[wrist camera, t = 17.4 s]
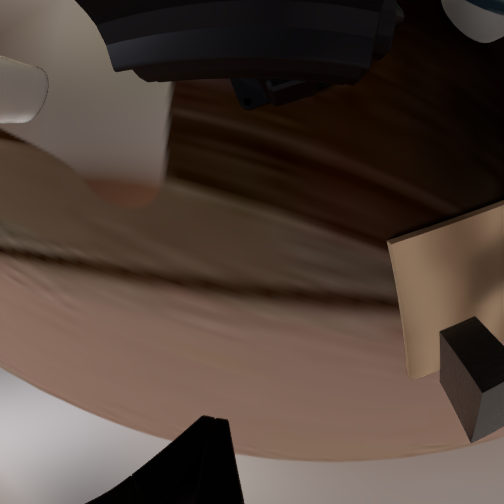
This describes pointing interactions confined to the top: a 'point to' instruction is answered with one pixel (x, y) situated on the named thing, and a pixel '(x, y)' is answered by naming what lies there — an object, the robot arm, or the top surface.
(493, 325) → the shaft stand
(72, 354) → the top surface
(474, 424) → the shaft
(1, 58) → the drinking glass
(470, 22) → the lotion bottle
